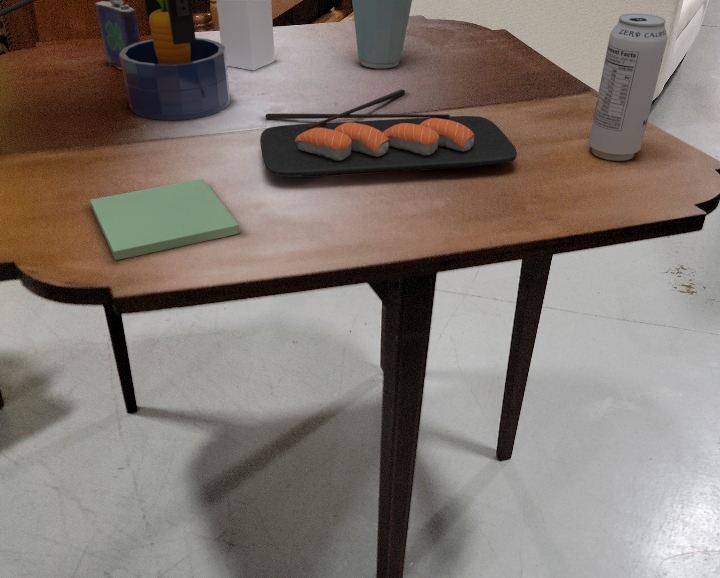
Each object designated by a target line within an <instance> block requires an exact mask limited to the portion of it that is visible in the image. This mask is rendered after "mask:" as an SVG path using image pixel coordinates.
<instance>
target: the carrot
mask: <svg viewBox="0 0 720 578" xmlns="http://www.w3.org/2000/svg"><path fill="white" fill-rule="evenodd" d="M157 1H158V3H159V4H160V6H161V8H162V9H158V10H156V11H154V12H152V13H151V15H150V16H149V20H148V23H149V29H150V34H151V39H153V44H154V49H155V53H156V56H157V59H158V62H159V64H174V63H184V62H190V61H191V49H190V43H185V44H177V45H174V44H173V39H172V32H171V26H170V19H169V12H168V5H167V0H157ZM164 2H165V3H164Z"/></svg>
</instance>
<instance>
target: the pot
mask: <svg viewBox="0 0 720 578" xmlns="http://www.w3.org/2000/svg"><path fill="white" fill-rule="evenodd" d="M195 38H196V42H193V43H190V49H191V61H190V62H184V63H174V64H159V62H158V59H157V56H156V53H155V49H154V44H153V39H152V38H151V39H147V40H141V42H138V43H134V44H132V45H130V46H128V47H125V48H123V49H122V51H121V52H120V54H119V57H120V62H121V67H122V69H121V73H122V77H123V82H124V87H125V93H126V99H127V103H128V105H129V109H130V111H131V112H132V113H134V114H135V115H137V116H139V117H142V118H146V119H150V120H151V119H152V120H155V121H157V120H158V121H185V120H195V119H199V118H204V117H208V116H211V115H215V114H217V113H220V112H221V111H223V110H225V109H226V108H227V107H228V106H229V105H230V102H231V98H230V96H231V91H230V82H229V72H228V71H229V70H228V66H227V61H226V51H225V47H224V46H223V45H222V44H221V42H219V41H216V40H212V39H208V38H202V37H195Z"/></svg>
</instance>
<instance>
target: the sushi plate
mask: <svg viewBox="0 0 720 578" xmlns="http://www.w3.org/2000/svg"><path fill="white" fill-rule="evenodd" d="M405 93H406V90H405V89H398V90H396V91H394V92H391V93H388V94H386V95H383V96H381V97H378V98H375V99H373V100H371V101H368V102H366V103H364V104H361V105H359V106H356V107H354V108H352V109H348V110H346V111H344V112H341V113H281V112H280V113H277V112H276V113H266V114H265V120H309V119H312V120H313V119H315V120H317V119H319V120H320V121H318V122H315V123H299V124H285V125H277V126H271V127H268V128H265V129H264V130H262V132H261V134H260V139H259V141H260V148H261V149H260V151H261V158H262V162H263V166H264V168H265V169H266V170H267V172H268V173H270V174H272V175H274V176H279V177H281V176H282V177H307V178H311V177H312V178H314V177H319V178H320V177H333V176H334V177H335V176H352V175H368V174H383V173H384V174H385V173H400V172H416V171H417V172H418V171H433V170H448V169H450V170H451V169H465V168H472V167H473V168H474V167H479V166H488V165H498V164H506V163H509V162H513V161H515V160H516V158H517V157H518V152H517V149H516V147H515V145H514V144H513V143H512V142H511V140H510V139H509V138H508V136H506V134H505V132H503V131H502V130H501V128H500V127H498V126H497V125H496V124H495V123H494V122H493V121H492V120H490V119H489V118H486V117H483V116H476V115H475V116H474V115H453V116H452V115H451V114H448V113H446V114H443V113H442V114H441V113H439V114H436V113H435V114H433V113H425V114H424V113H422V114H420V113H418V114H417V113H416V114H415V113H411V114H410V113H409V114H407V113H406V114H405V113H402V114H401V113H398V114H397V113H394V114H393V113H388V114H387V113H356V112H358V111H362V110H364V109H367V108H370V107H374V106H376V105H379V104H382V103H384V102H388V101H390V100H392V99H395V98H398V97H401V96H403V95H405ZM385 118H386V119H385ZM387 118H388V119H387ZM389 118H390V119H389ZM392 118H393V119H392ZM321 119H322V120H321ZM336 119H372V120H356V121H354V120H353V121H339V122H338V121H337V122H336V121H335V122H334V120H336ZM373 119H375V120H373ZM331 121H333V122H331Z"/></svg>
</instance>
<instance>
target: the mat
mask: <svg viewBox="0 0 720 578" xmlns="http://www.w3.org/2000/svg"><path fill="white" fill-rule="evenodd" d="M89 203H90V208H91V209H92V212H93V214H94V217H95V218H96V221H97V224H98V225H99V227H100V230H101V232H102V234H103V236H104V239H105V241H106V243H107V245H108V247H109V250H110V252H111V254H112V256H113V259H114V261H119V260H124V259H128V258H133V257H137V256H142V255H147V254H152V253H156V252H161V251H167V250H170V249H176V248H179V247H184V246H189V245H195V244H197V243H203V242H207V241H213V240H217V239H220V238H225V237H229V236H230V237H231V236H235V235H239V234H240V224H239V223H238V222H237V221H236V219H235V218H234V217H233V216H232V215H231V213H230V211H229V210H228V209H227V208H226V207H225V205H224V204H223V202H222V201H221V200H220V199H219V197H218V196H217V195H216V194H215V192H214V191H213V190H212V188H211V187H210V186H209V184H208V183H207V182H206V181H205V179H204V178H198V179H194V180H188V181H183V182H182V181H181V182H177V183H172V184H168V185H161V186H157V187H150V188H146V189H140V190H139V189H138V190H135V191H129V192H124V193H118V194H113V195H108V196H102V197H97V198H91V199H89Z"/></svg>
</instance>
